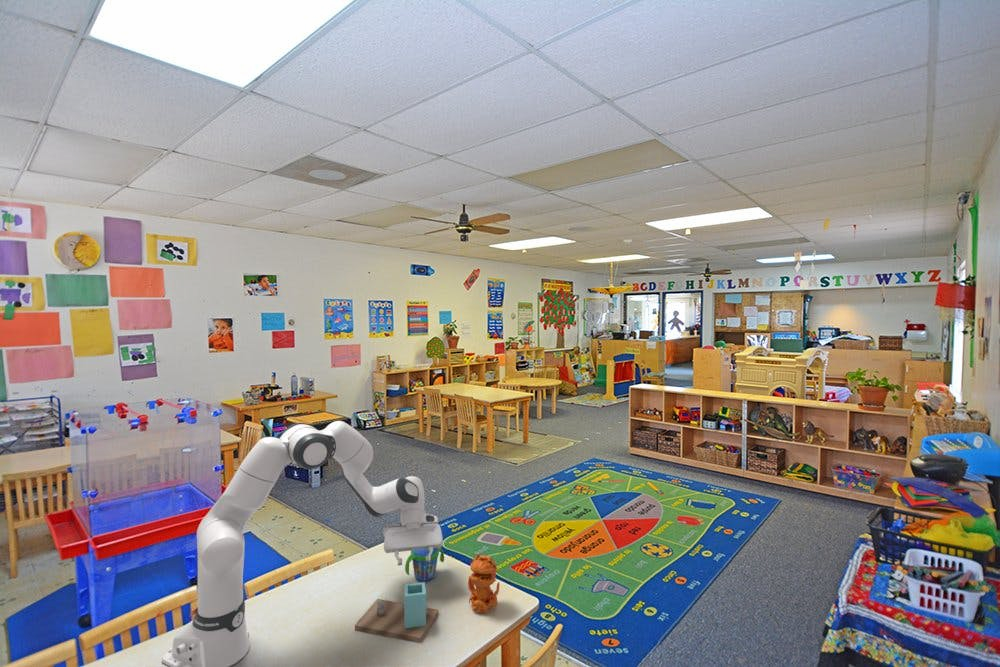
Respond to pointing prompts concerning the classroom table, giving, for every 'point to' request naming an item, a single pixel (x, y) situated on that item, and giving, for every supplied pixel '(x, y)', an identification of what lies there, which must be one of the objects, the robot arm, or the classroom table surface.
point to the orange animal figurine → (483, 583)
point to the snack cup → (424, 563)
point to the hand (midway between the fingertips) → (414, 563)
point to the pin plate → (393, 621)
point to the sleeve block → (414, 605)
